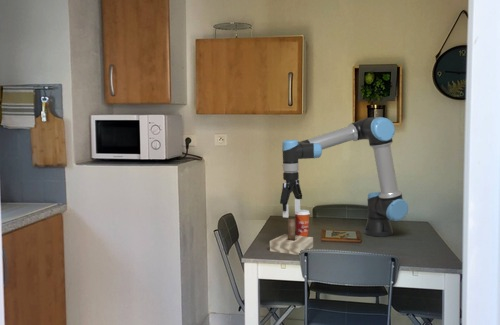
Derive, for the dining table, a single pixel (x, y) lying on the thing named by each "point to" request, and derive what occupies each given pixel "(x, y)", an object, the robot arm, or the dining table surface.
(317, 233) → the dining table surface
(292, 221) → the walnut peg
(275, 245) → the maple block
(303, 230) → the coffee cup
